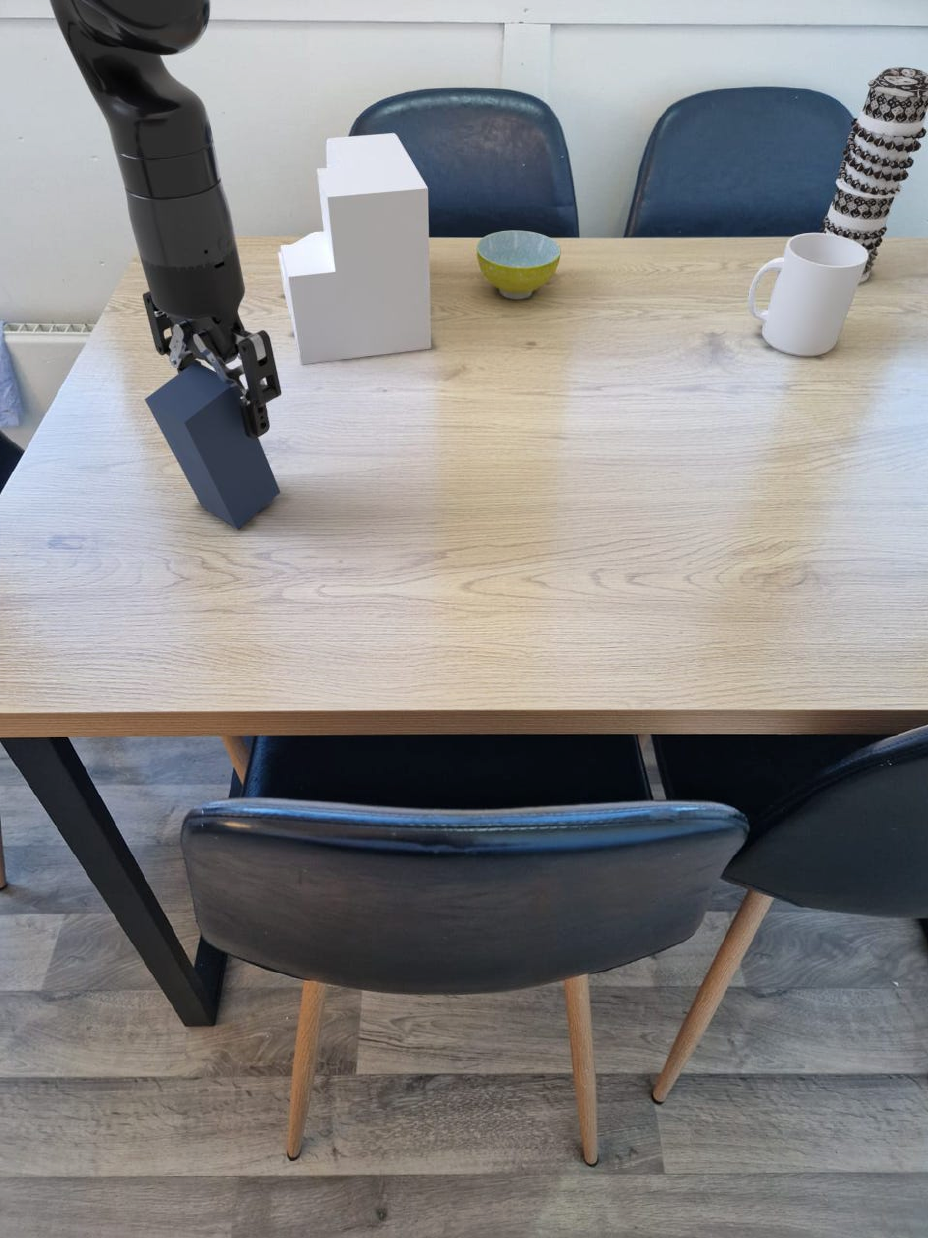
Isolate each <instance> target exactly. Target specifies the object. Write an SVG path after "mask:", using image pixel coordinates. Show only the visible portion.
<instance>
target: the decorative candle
mask: <svg viewBox="0 0 928 1238" xmlns="http://www.w3.org/2000/svg"><path fill="white" fill-rule="evenodd" d="M867 85H868V87H869V89H868V93H867V95H866V99H865V102H864V106H863V107H862V109H861V110H860V113H859V115H858V118H857V117H855V118H853V119H852V120H851V121H850V125H851V130H852V131H851V132H849V133H848V137H846V141H845V142H846V143H847V144H846V146H845V148H844V149H843V150H842V155H843V161H841V163H840V166H839V167H838V172H839V173H838V176H837V177H836V180H835V184H836V185H837V188H836V192H835V195H834V198H833V201H832V202H831V204H830V206H829V209H828V212H827V214H826V215H825V217H823V219H822V222H823V226H822V227H821V228H820V230H819V233H826V234H832V235H837V236H841V237H845V238H848V239H850V240H853V241H855V242H857V243H858V244H860V245H862V246H863V247H864V248H865V249H866V250H867V252H868V260H867V262H866V265H865V268H864V270H863V273H862V276H861V278H860V281H859V284H862V283H863V282H865V281H867V280H868V279H869V276H870V272H871V271H872V267H874V266H875V263H874V261H876V257H877V256H878V255H879V252H878V247H880V246H881V244H882V243H883V238H882V237H883V236H884V235H885V234H886V232H887V230H888V228H887V223H888V219H889V216H890V215H891V211H890V210H891V208H892V206H893V202H894V200H895V197H897V196H898V195H900V194H901V191H902V188H903V187H902V185H901V182H902V181H905V180H907V179H908V178H909V175H910V174H909V172H907V169H910V168H911V167H913V164H914V163H915V160H914V159H913V158H912V156H910V154H911V153H914V152H917V151H919V150H920V149H921V148H922V144H921V143H920V142H919V140H920V139H922V138H924V137H926V134H927V131H928V130H927V129H926V128H925V127H924V123H925V121H926V118H927V117H926V114H927V112H928V73H927V72H926V71H923V70H921V69H918V68H911V67H904V66H903V67H901V66H900V67H899V66H897V67H889V68H886V69H884V70H882V71H881V72H880V73H879V74H878V75H877V76H876V78H874V79H871V80H869V82H868V84H867Z"/></svg>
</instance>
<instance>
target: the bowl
mask: <svg viewBox="0 0 928 1238" xmlns="http://www.w3.org/2000/svg"><path fill="white" fill-rule="evenodd" d="M561 254H562V249H561V246H560V245H559V243H558V242H557V241H555V239H553V238H551V237H550V236H547V235H545V234H542V233H538V232H534V231H527V230H502V231H498V232H497V231H496V232H492V233H490V234H488V235H485V236H484V237H482V238H481V239H480V240H478V242H477V244H476V258H477V262H478V265H479V268H480V270H481V273H482V274H483V277H484V278H485V279H486V280H487V282H489V284H491V285H492V286H493V287H495V288H497V289H499V294H500V295H501V296H503V297H504V298H507V299H511V300H523V299H527V298H529V297H531V295H532V294H533V291H535V290H538V289H539V288H542V286H544V285H546V283H547V282H549V280H550V279H551V278H552V277H553V275H554V273H555V272H556V270H557V268H558V265H559V263H560V260H561Z"/></svg>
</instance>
